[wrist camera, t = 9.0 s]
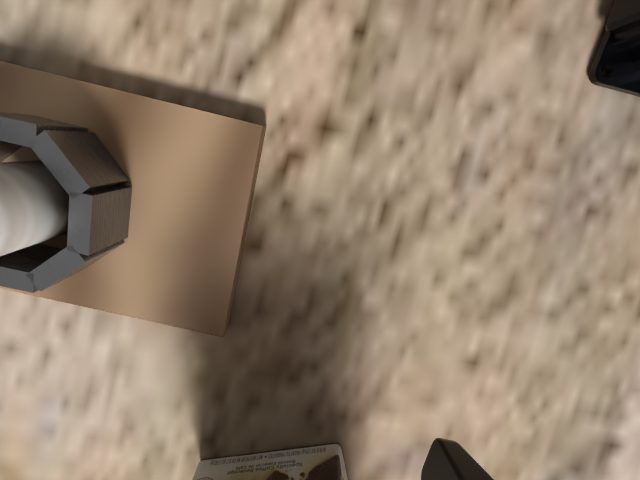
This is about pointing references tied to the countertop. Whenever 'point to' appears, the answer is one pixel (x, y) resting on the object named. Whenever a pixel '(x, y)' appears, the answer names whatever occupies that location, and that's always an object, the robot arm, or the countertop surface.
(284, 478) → the coffee box
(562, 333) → the countertop surface
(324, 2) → the countertop surface
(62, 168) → the hollow octagonal tube
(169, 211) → the tan board with peg
